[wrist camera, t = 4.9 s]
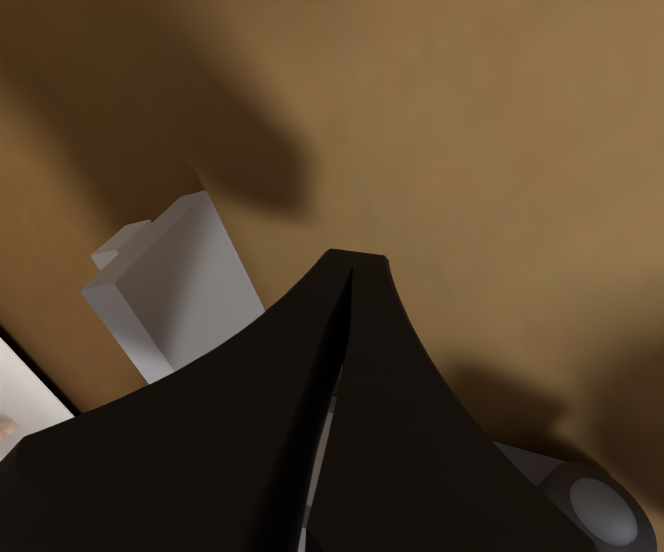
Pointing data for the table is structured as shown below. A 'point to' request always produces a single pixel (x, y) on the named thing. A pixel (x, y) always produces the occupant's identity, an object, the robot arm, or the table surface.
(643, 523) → the camera body
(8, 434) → the touchpad
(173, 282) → the door
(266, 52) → the table surface
